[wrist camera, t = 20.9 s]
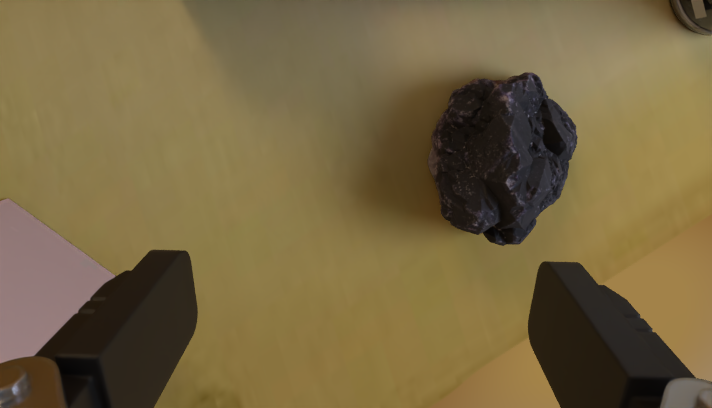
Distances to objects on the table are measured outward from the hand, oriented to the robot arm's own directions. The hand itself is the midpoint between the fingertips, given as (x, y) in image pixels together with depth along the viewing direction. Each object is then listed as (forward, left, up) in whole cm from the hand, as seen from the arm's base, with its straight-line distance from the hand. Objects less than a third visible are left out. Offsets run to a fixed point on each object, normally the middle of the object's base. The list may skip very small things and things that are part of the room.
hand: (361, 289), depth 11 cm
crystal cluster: (-14, +2, -30) cm, 34 cm away
